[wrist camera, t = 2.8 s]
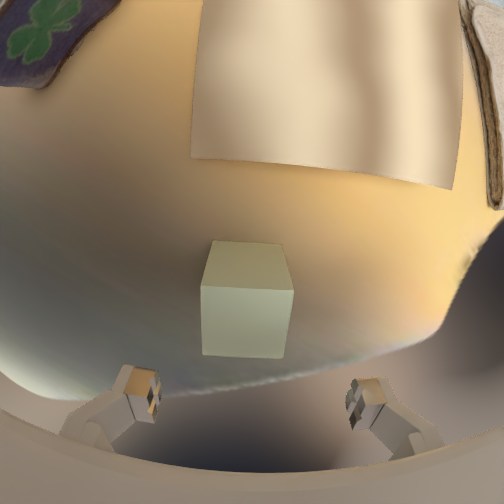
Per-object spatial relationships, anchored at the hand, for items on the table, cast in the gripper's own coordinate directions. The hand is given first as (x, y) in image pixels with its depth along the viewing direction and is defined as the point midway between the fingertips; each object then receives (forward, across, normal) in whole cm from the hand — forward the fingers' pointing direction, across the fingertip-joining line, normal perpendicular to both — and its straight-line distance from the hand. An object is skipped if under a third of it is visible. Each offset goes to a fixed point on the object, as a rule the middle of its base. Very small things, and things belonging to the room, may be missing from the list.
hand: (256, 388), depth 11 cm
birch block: (+10, -3, -15) cm, 19 cm away
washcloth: (+11, -22, -17) cm, 30 cm away
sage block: (+10, +1, 0) cm, 10 cm away
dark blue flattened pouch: (+10, +14, -17) cm, 24 cm away
